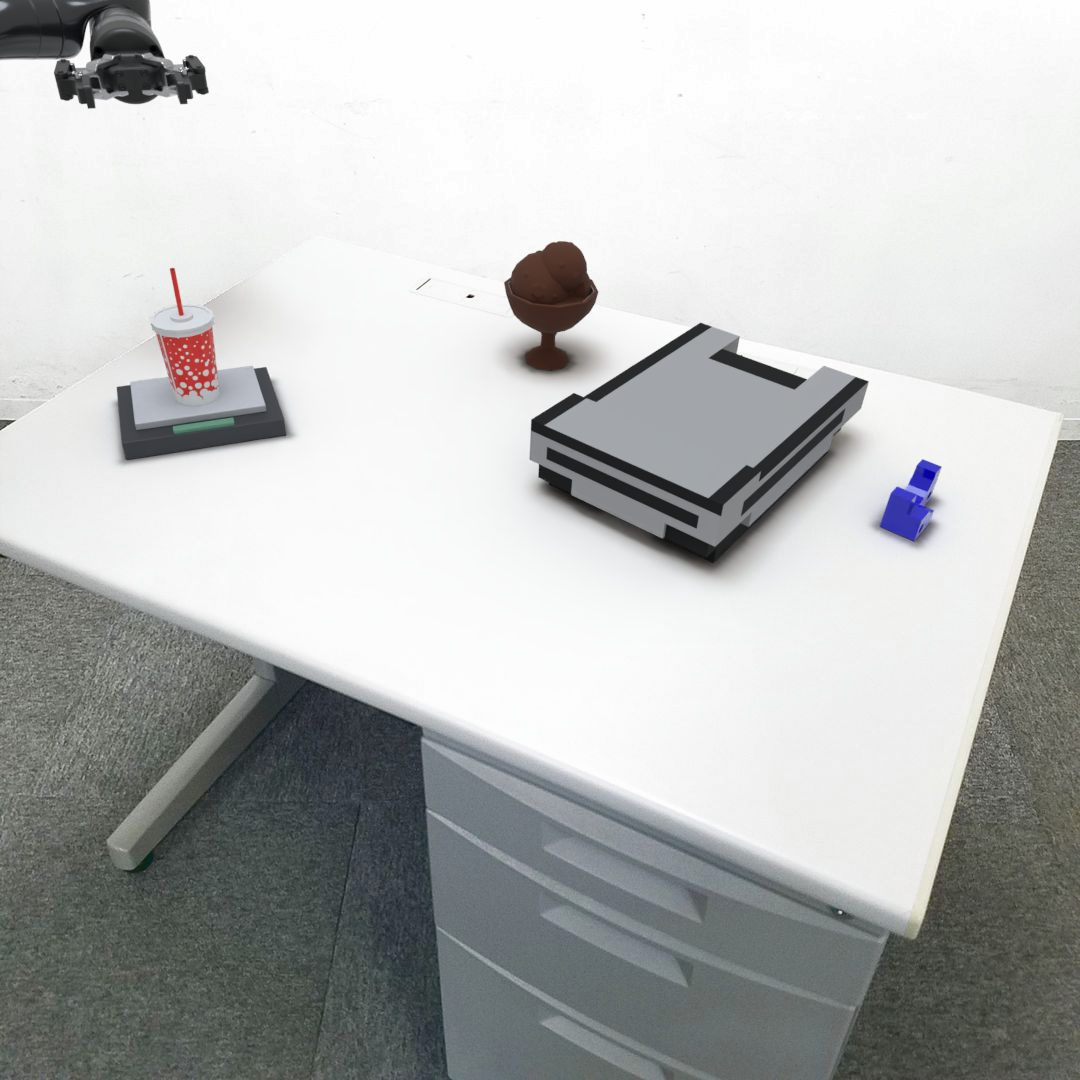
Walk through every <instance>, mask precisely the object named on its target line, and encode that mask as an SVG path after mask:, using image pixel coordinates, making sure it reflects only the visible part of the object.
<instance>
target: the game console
mask: <svg viewBox="0 0 1080 1080" xmlns="http://www.w3.org/2000/svg"><path fill="white" fill-rule="evenodd" d="M740 338H741V336H740V335H738V334H735V333H732V332H728V331H725V330H723V329H720V328H717V327H714V326H712V325H708V324H706V323H703V322H699V323H697V324H696V325H694V326H693V327H691V328H689V329H688V330H686V331H685V332H683V333H681V334H680V335H679V336H676V337H675V338H674V339H672V340H670V341H669V342H668V343H666V344H665V345H663V346H661V347H660V348H658V349H656V350H655V351H653V352H652V353H650V354H649V355H647V356H646V357H643V359H641V360H640V361H638V362H636V363H634V364H633V365H632V366H629V368H627V369H625V370H623V371H621V372H620V373H619V374H618V375H615V376H614V377H612V378H611V379H610V380H608V381H606V382H605V383H603V384H602V385H600V386H599V387H597V388H596V389H594V390H592V391H591V392H589V393H587V394H586V395H584V396H582V395H580V394H577V393H575V392H573V393H571V394H569V395H568V396H566V397H565V398H563V399H562V400H560V401H558V402H557V403H555V404H554V405H552V406H550V407H549V408H548V409H545V410H544V411H542V412H541V413H539V414H538V415H535V416H534V417H533V418H531V419H530V436H529V437H530V439H529V440H530V441H529V461H532V462H534V463H535V464H538V472H537V473H538V475H537V477H538V478H539V479H541V480H543V481H545V482H547V483H548V484H549V485H550V486H552V487H555V488H557V489H559V490H561V491H563V492H565V493H567V494H570V495H571V496H572V497H575V498H577V499H579V500H581V501H583V502H585V503H587V504H589V505H591V506H592V507H593V506H594V507H596V508H598V509H599V510H602V511H604V512H606V513H607V514H610V515H613V516H614V517H616V518H618V519H620V520H622V521H625V522H627V523H629V524H631V525H633V526H635V527H637V528H639V529H642V530H643V531H645V532H647V533H650V534H652V535H654V536H656V537H658V538H660V539H664V540H665V541H668V542H670V543H671V544H674V545H675V546H678V547H680V548H682V549H684V550H686V551H688V552H690V553H692V554H695V555H697V556H699V557H701V558H703V559H705V560H707V561H709V562H712V563H713V564H714V563H715V562H716V561H717V560H719V558H720V557H721V556H723V555H724V553H725V552H727V550H729V549H730V548H731V547H732V546H733V545H734V544H735V543H736V542H737V541H738V540H739V539H740V538H741V537H742V536H743V535H744V534H746V532H747V531H748V530H749V529H750V528H751V527H753V526H754V525H755V523H757V522H758V521H759V520H760V519H761V518H762V517H763V516H764V515H765V514H766V513H767V512H768V511H769V510H770V509H771V508H772V507H773V506H774V505H776V504H777V502H778V501H780V499H782V497H784V495H786V493H787V492H788V491H790V490H791V489H792V488H793V487H794V486H795V485H797V483H798V482H799V481H800V480H801V479H802V478H803V477H804V476H805V475H806V474H808V472H809V471H811V470H812V469H813V467H815V465H816V464H818V463H819V462H820V461H821V460H822V459H823V458H824V457H825V456H826V455H827V454H828V453H829V450H830V448H831V445H832V441H833V438H834V437H835V436H836V435H837V434H838V433H839V432H840V431H841V430H842V428H843V427H844V425H846V424H847V422H849V421H850V420H851V419H852V418H853V417H854V416H855V415H856V414H857V413H858V412H859V411H860V410H862V407H863V404H864V400H865V396H866V392H867V390H868V386H869V382H870V380H866V379H864V378H860V377H858V376H855V375H852V374H849V373H847V372H843V371H841V370H837V369H835V368H832V367H829V366H827V365H823V366H822V367H820V368H819V369H818V370H816V371H815V372H814V373H813V374H812V375H811V376H809V377H808V378H805V377H802V376H799V375H796V374H795V373H791V372H788V371H785V370H783V369H780V368H778V367H775V366H771V365H769V364H766V363H763V362H760V361H757V360H755V359H752V358H749V357H746V356H743V355H741V354H738V348H739V343H740Z"/></svg>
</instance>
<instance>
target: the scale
mask: <svg viewBox="0 0 1080 1080" xmlns="http://www.w3.org/2000/svg"><path fill="white" fill-rule="evenodd" d="M217 375H218V384H219V393H220V395H219V396H218V398H217V399H216V400H214V401H213V402H211V403H208V404H205V405H199V406H186V405H183V404H180V403H178V402H177V401H176V400H175V397H174V394H173V390H172V387H171V383H170V380H169V376H164V377H155V378H148V379H141V380H132V381H130V382H129V384H127V385H119V386H116V397H117V406H118V407H117V408H118V417H119V427H120V436H121V446H122V450H123V453H124V458H125V460H135V459H141V458H146V457H153V456H158V455H166V454H173V453H180V452H184V451H192V450H198V449H204V448H210V447H219V446H225V445H229V444H237V443H243V442H244V443H245V442H248V441H249V442H250V441H256V440H264V439H269V438H275V437H276V438H277V437H283V436H287V429H286V422H285V417H284V415H283V411H282V409H281V406H280V402H279V400H278V397H277V395H276V391H275V388H274V385H273V383H272V380H271V377H270V374H269V371H268V367H267V366H263V367H255V368H254V366H253V365H246V366H240V367H239V366H238V367H231V368H224V369H217Z"/></svg>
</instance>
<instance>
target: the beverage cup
mask: <svg viewBox="0 0 1080 1080" xmlns="http://www.w3.org/2000/svg"><path fill="white" fill-rule="evenodd" d="M169 273H170V277H171V282H172V288H173V292H174V298H175V302H176V304H173V305H169V306H165V307H163V308H160V309H158V310H156V311H154V312H153V313H152V315H151V316H149V322H150V326H151V330H152V331H153V332H154V333H155V335H156V338H157V342H158V345H159V349H160V353H161V355H162V360H163V362H164V366H165V370H166V372H167V373H166V374H167V377H169V380H170V383H171V387H172V390H173V394H174V397H175V400H176V401H177V402H178V403H180V404H183V405H186V406H199V405H205V404H208V403H211V402H213V401H214V400H216V399H217V398H218V396H219V395H220V393H219V384H218V375H217V370H218V367H217V359H216V358H217V357H216V349H215V341H214V331H213V326H214V324H215V319H214V318H215V317H214V312H213V310H211V309H210V308H209V307H208V306H203V305H200V304H193V303H182V299H181V292H180V288H179V283H178V278H177V274H176V268H175V267H170V268H169Z"/></svg>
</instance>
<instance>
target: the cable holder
mask: <svg viewBox="0 0 1080 1080" xmlns="http://www.w3.org/2000/svg"><path fill="white" fill-rule="evenodd" d="M942 468H943V466H941V465H938V464H936V463H934V462H931V461H929V460H927V459H924V458H922V459H921V460H920V461H919V462H918V463H917V464H916V467H915V469H914V472H913V473H912V476H911V478H910V480H909V482H908V483H907V485H906V487H905V488H902V487H900V486H896V487H894V489H893V490H892V491H891V492H890V494H889V497H888V500H887V503H886V507H885V510H884V512H883V514H882V518H881V522H880V524H879V527H880V528H882V529H884V530H887V531H890V532H891V533H894V534H896V535H899V536H901V537H903V538H905V539H908V540H910V541H912V542H915V541H916V540H917V539H918V537H919V536H920V535H921V534H922V532H923V531H925V529H926V528H927V527H928V525H929V524H930V523H931V520H932V517H933V515H934V512H935V510H934V509H932V508H929V507H927V506H926V505H927V504H928V502H929V501H930V500H931V499H932V495H933V492H934V490H935V487H936V485H937V481H938V478H939V475H940V474H941V470H942Z"/></svg>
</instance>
